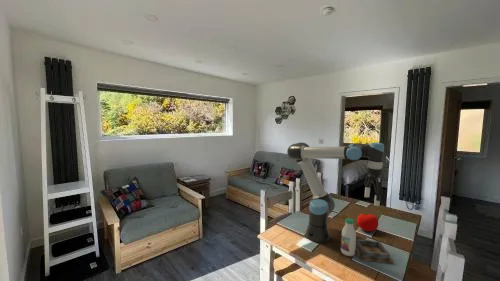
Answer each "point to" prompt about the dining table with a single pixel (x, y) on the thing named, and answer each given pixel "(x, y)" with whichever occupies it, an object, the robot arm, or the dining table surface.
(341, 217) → the dining table surface
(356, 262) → the dining table surface
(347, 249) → the milk bottle
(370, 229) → the tomato
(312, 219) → the robot arm
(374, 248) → the bottle stand
